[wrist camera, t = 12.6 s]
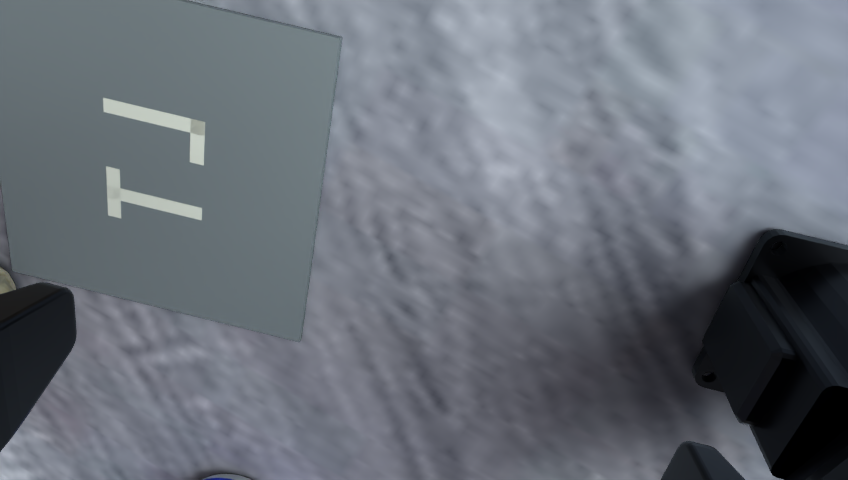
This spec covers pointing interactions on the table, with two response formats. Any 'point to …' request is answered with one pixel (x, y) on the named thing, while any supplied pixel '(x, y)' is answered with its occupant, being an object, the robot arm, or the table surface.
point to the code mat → (166, 154)
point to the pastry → (6, 282)
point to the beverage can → (226, 477)
